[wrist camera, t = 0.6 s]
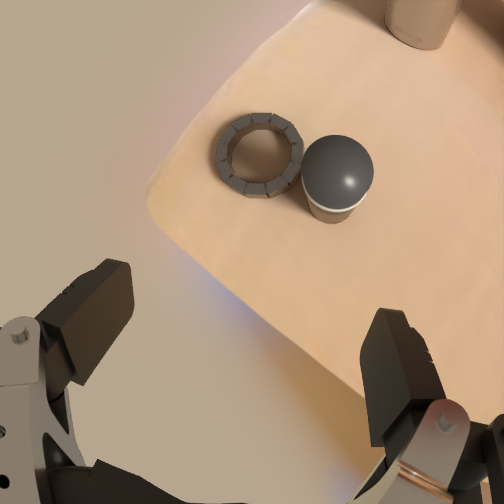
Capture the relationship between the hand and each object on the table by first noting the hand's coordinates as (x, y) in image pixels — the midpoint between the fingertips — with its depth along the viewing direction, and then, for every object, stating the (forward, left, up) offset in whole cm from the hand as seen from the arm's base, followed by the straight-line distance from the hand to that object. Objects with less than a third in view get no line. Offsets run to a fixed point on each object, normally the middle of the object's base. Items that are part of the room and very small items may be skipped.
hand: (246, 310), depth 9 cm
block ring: (-8, -10, -23) cm, 26 cm away
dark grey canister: (-8, -1, -23) cm, 24 cm away
